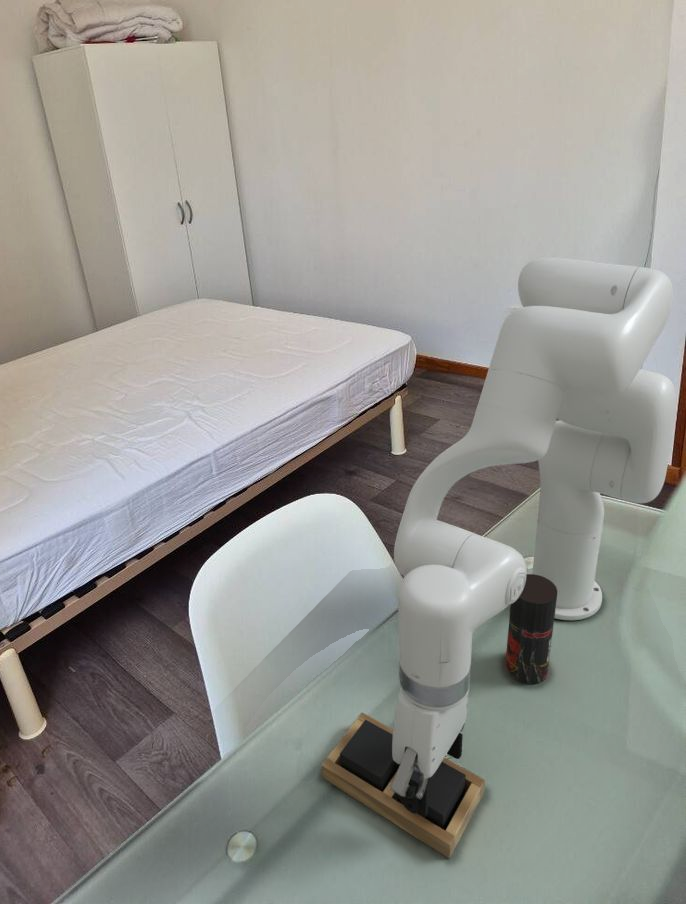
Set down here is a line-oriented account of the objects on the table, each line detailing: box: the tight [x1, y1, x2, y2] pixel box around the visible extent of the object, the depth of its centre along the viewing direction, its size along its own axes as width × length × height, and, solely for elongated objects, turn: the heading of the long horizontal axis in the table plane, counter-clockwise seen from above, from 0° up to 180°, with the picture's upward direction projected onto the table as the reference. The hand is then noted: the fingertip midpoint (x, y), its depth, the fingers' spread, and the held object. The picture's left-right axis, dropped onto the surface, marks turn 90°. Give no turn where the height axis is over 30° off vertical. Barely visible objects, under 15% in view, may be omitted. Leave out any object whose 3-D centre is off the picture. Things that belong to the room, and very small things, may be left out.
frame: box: [321, 712, 486, 859], centre depth 85 cm, size 9×18×2 cm, turn 53°
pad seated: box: [340, 720, 401, 792], centre depth 87 cm, size 6×6×4 cm
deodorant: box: [504, 574, 557, 686], centre depth 97 cm, size 6×6×15 cm
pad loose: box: [397, 761, 466, 831], centre depth 82 cm, size 6×6×4 cm
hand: (432, 778), depth 81 cm, fingers open, 8 cm apart
